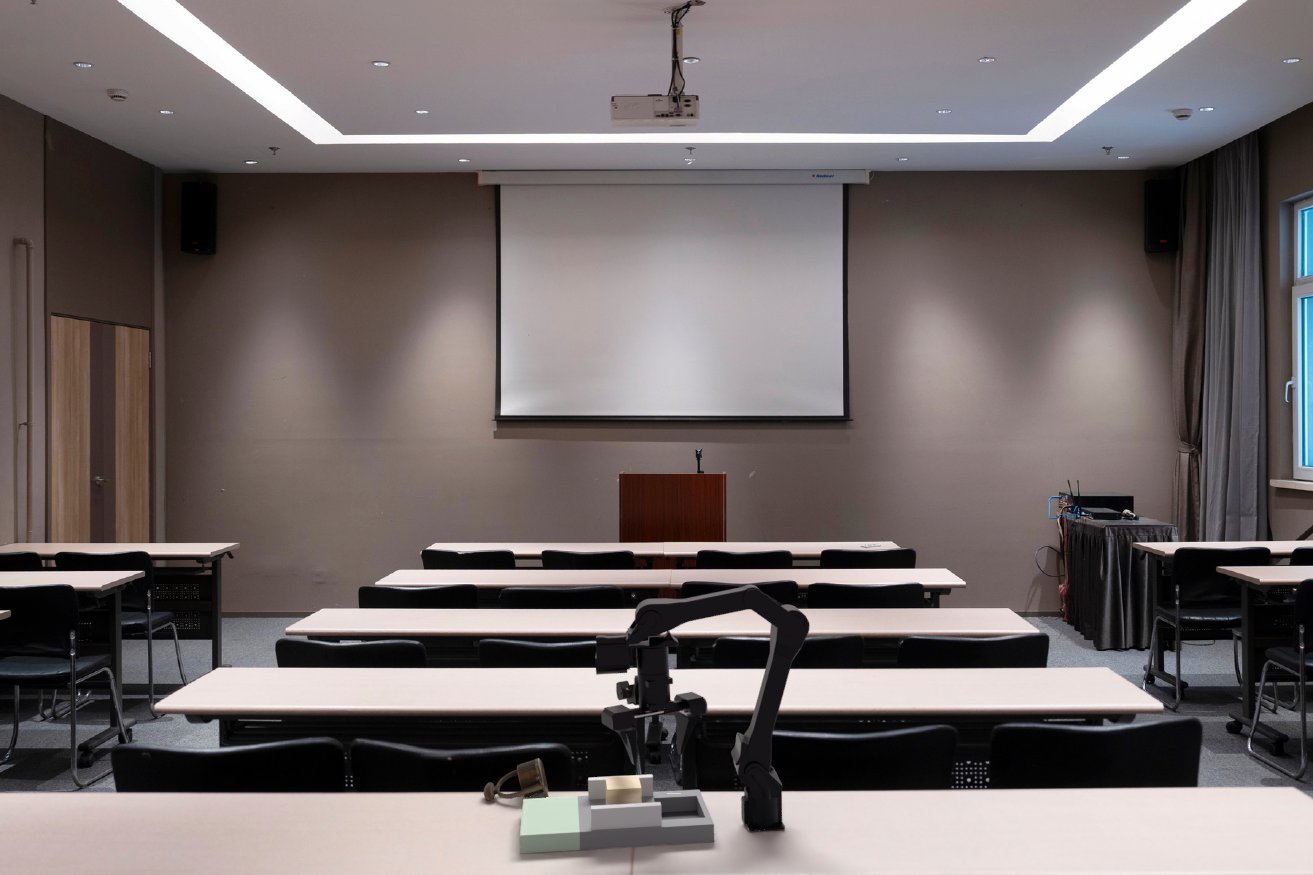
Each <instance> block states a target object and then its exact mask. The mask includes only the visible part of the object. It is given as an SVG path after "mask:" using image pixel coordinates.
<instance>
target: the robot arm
mask: <svg viewBox="0 0 1313 875" xmlns="http://www.w3.org/2000/svg"><path fill="white" fill-rule="evenodd" d="M747 610H751V611H753V612H754V613H756V614H757V615H758V616H760V617H761V618H763V619H764V620H765V621H767V623H769V624H770V630H769V632H770V633H769V655H768V658H767V662H766V666H765V670H764V674H763V678H762V680H761V684H760V687H759V692H758V695H757V699H756V703H755V706H754V710H753V713H752V718H751V721H750V725H749V726H748V728H747V730H746V731H745V732H744V734H743V733H740V732H736V736H735V744H734V747H733V748H732V750H731V751H730V752H731V757H732V759H733V764H734V768H735V770H736V773H737V776H738V778H739V780H740V782H741V783H743V785H745V786H744V787H743V792H744V793H743V795H741V797H740V798H741V800H740V802H741V804H740V806H741V807H740V808H741V810H740V812H741V820H742V822H743V824H744V825H745V826H746V828H747V830H748V831H749V832H764V831H784V830H786V825H785V824H784V822H783V788H784V787H783V784H782V781H781V780H780V778H779V776H778V774H777V771H776V770H775V768H774V767H773V766H772V759H773V758H772V756H773V755H772V751H773V750H772V749H773V748H772V747H773V745H772V743H773V742H772V741H773V740H772V739H773V733H774V729H775V726H776V723H777V722H776V721H777V719H778V714H779V711H780V708H781V704H782V700H783V696H784V693H785V689H786V685H787V683H788V682H787V681H788V678H789V674H790V671H791V667H792V663H793V661H794V659H795V657H796V656H797V655H798V653H799V652H800V650H802V647H803V645H804V642H805V641H806V639H807V637H808V634H809V632H810V622H809V619H808V617H807V616H806V615H805V614H804V613H803V612H802V611H801V610H800V609H798V608H797V607H796V606H794V605H793V604H782V603H780V602H778V601H777V600H776V599H774V597H771V596H769V595H768V594H767V593H765V592H763V591H762V590H761V589H760V588H758V586H757V585H754V584H745V585H744V586H741V587H737V588H736V587H735V588H731V589H726V590H721V591H717V592H710V593H707V594H701V595H696V596H691V597H687V598H664V597H663V598H647V599H644V600H642V601H641V602H639V603H638V605H637V606H636V608H635V611H634V619H633V621H632V623H630V626H629V627H628V628H627V630H626V631H625V634H619V635H606V634H600V635H599V634H598V635H597V634H596V637H595V650H596V651H595V656H594V658H595V659H594V661H595V675H614V674H615V675H616V674H627V673H628V670H631V668H633V667H634V654H633V649H636V651H635V652H636V667H637V668H636V670H637V672H636V673H637V675H634V678H633V681H634V682H633V683H632V684H630V683H629V681H628V680H622V681H618V682H616V683H615V684H616V685H615V686H616V688H615V692H616V699H617V700H618V701H623V700H626V704H627V705H634V706H638V707H635V708H629V707H627V706H626V705H624V704H617V705H612V706H607V707H604V708H603V709H602V712H601V724H602V725H604V726H605V727H607V728H609V729H610V730H612V731H614V732H616V733H617V734H619V736H620V737H621V738H620V739H621V740H622V742H623V744H624V746H625V749H626V752H627V755H628V756H629V760H630V762H631V764H632V765H636V764H637V760H638V750H637V749H638V746H637V745H638V744H637V743H638V742H637V741H638V740H637V735H638V734H637V728H635V727H633V726H634V724H635V723H636V721H635V720H641V719H646V718H652V717H656V716H660V715H661V716H662V715H667V714H673V716H674V718H675V722H676V749H677V754H678V755H681V756H682V755H683V754H684V751H685V749H686V746H687V744H688V740H689V738H690V736H691V733H692V732H693V730H694V728H695V726H696V724H697V722H698V721H699V720H702V715H705V714H707V713H709V712H708V709H709V708H708V702H707V700H706V698H705V697H704V696H702V695H700V694H698V693H696V692H694V691H690V692H689V691H688V692H684V693H678V694H675V695H674V697H673V700H672V699H671V685H673V684H674V679H673V677H671V676H670V661H669V657H670V656H669V648H670V647H678V646H679V641H678V638H676V637H675V636H674V635H673V634H672V633H671V631H672V630H674V629H676V628H677V627H679V626H681V625H683V624H685V623H689V622H693V621H697V620H703V619H707V618H713V617H718V616H722V615H727V614H732V613H738V612H741V611H747ZM664 633H665V634H664ZM662 634H664V635H662ZM645 639H648V640H645Z"/></svg>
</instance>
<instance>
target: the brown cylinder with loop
mask: <svg viewBox="0 0 1313 875" xmlns="http://www.w3.org/2000/svg"><path fill="white" fill-rule="evenodd" d="M514 776H517V777H518V782H519V786H520V789H521V790H519V791H516V792H512V793H503V792H501V791H500V788H501V786H502V785H503V784H504V783H505V781H507V780H508V779H510V778H512V777H514ZM547 782H548V781H547V778H546V772H545V767H544V764H543V761H542V760H541V759H540V758H535V759H533V760H530V761H526V762H522V763H520V764H518V765H517V766H516V769H515V770H513V771H510V772H509V773H507V774H505V775H503V776H502V777H501V778H500V779H499V780H498V781H497V784H496V785H494V783H492V782H491V781H490V782H488V783H487V784H486V785H485V786H484V788H483V795H484V798H485V800H486V801H488V802H494V801H495V797H496V795H497V796H498V797H499V798H501V799H505V800H511V799H516V798H520V797H524V799H527V798H526V797H528V798H531V797H534V796H537V795H540V794H543V795H544V798H545V797H548V798H549V789H548V788H549V787H548V783H547ZM530 796H531V797H530Z"/></svg>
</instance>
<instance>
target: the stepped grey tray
mask: <svg viewBox="0 0 1313 875" xmlns="http://www.w3.org/2000/svg"><path fill="white" fill-rule="evenodd" d="M622 776H623V775H611V776H610V775H609V777H622ZM629 776H639V780H640V784H641V797H642V803H634V804H616V805H606V779H605V777H606V776H597V777H595V776H594V777H588V779H587V783H588V784H587V785H588V786H587V790H588V791H587V792H588V793H587V795H574V796H573V795H572V796H558V797H557V796H555V797H554V796H553V797H548V798H545V797H539V798H536V797H535V798H533V797H532V798H523V800H522V810H521V819H520V829H519V830H520V831H519V854H520V855H521V854H532V853H534V854H537V853H551V852H552V853H553V852H568V851H582V850H584V851H585V850H601V849H616V848H618V849H621V848H634V847H635V848H637V847H649V846H665V845H667V846H669V845H681V844H682V845H683V844H684V845H685V844H687V845H688V844H700V843H701V844H702V843H715V824H714V820H713V819H712V816H711V814H710V812H709V809H708V807H707V804H706V802H705V798H704V797H703V795H702V792H701V790H700V789H682V790H668V791H667V790H666V791H665V790H664V791H654V775H653V774H652V773H651V774H635V775H633V774H632V775H629ZM667 793H681V794H667Z"/></svg>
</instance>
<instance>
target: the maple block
mask: <svg viewBox="0 0 1313 875" xmlns="http://www.w3.org/2000/svg"><path fill="white" fill-rule="evenodd" d="M621 776H622V777H610V776H604V777H605V779H606V805H616V804H634V803H642V797H641V784H640V780H639V776H630V775H621Z"/></svg>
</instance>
